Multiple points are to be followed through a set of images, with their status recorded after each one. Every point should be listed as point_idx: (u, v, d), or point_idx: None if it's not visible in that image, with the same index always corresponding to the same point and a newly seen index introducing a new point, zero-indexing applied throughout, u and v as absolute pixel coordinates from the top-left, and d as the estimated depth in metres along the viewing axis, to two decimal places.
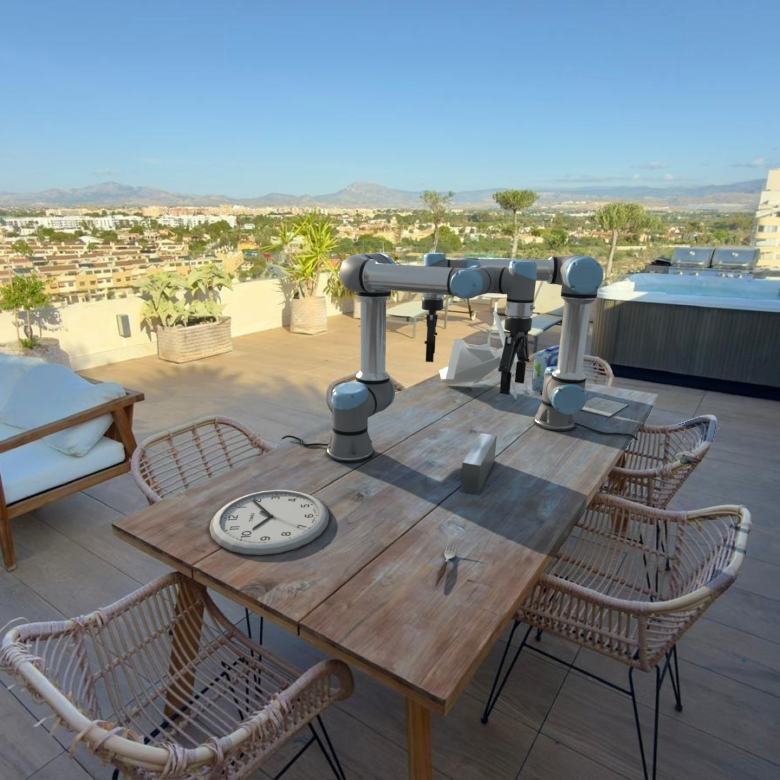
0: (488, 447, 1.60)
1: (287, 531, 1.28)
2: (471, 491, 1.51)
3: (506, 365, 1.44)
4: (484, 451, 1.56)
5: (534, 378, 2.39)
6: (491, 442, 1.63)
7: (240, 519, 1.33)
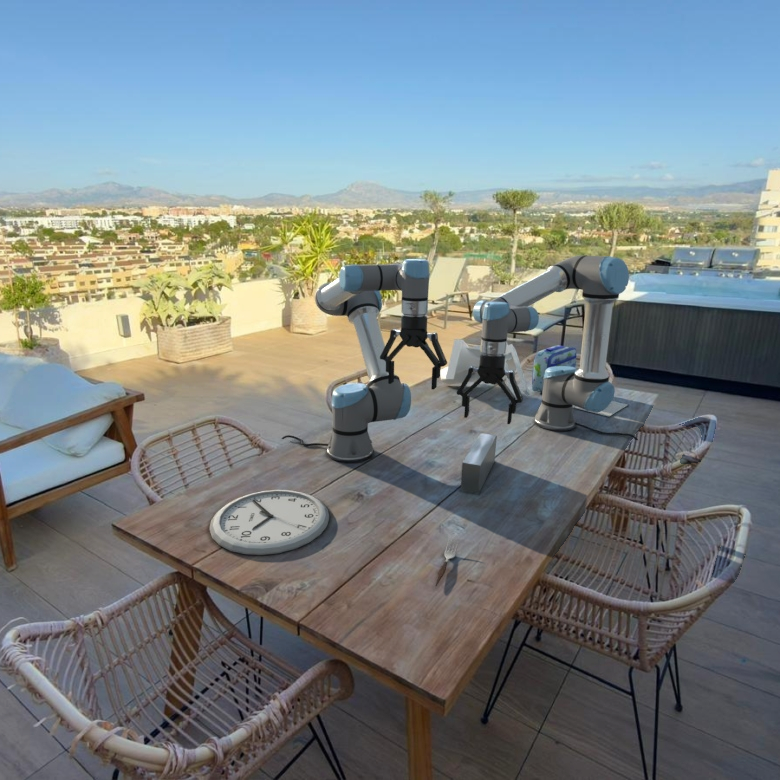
0: (488, 447, 1.60)
1: (287, 531, 1.28)
2: (471, 491, 1.51)
3: None
4: (484, 451, 1.56)
5: (534, 378, 2.39)
6: (491, 442, 1.63)
7: (240, 519, 1.33)
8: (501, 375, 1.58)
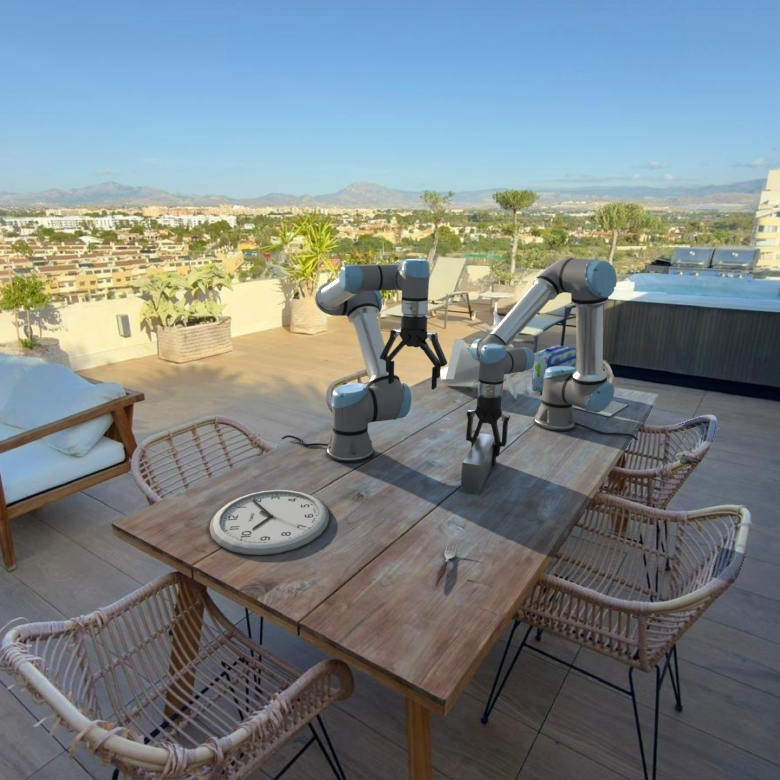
0: (488, 447, 1.60)
1: (287, 531, 1.28)
2: (471, 491, 1.51)
3: None
4: (484, 451, 1.56)
5: (534, 378, 2.39)
6: (491, 442, 1.63)
7: (240, 519, 1.33)
8: (498, 415, 1.62)
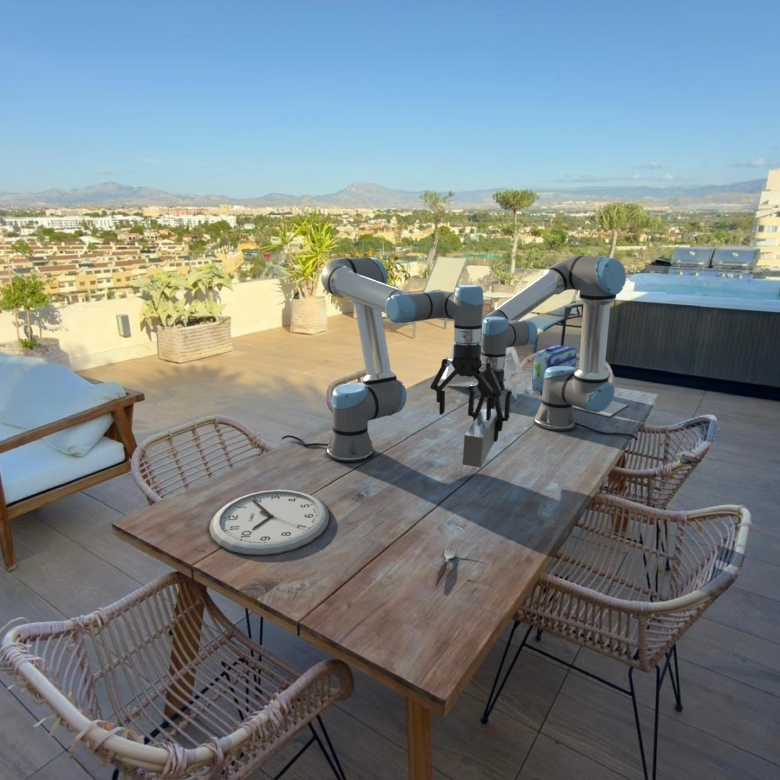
0: (490, 421, 1.57)
1: (287, 531, 1.28)
2: (473, 464, 1.48)
3: None
4: (487, 425, 1.54)
5: (534, 378, 2.39)
6: (493, 417, 1.61)
7: (240, 519, 1.33)
8: None
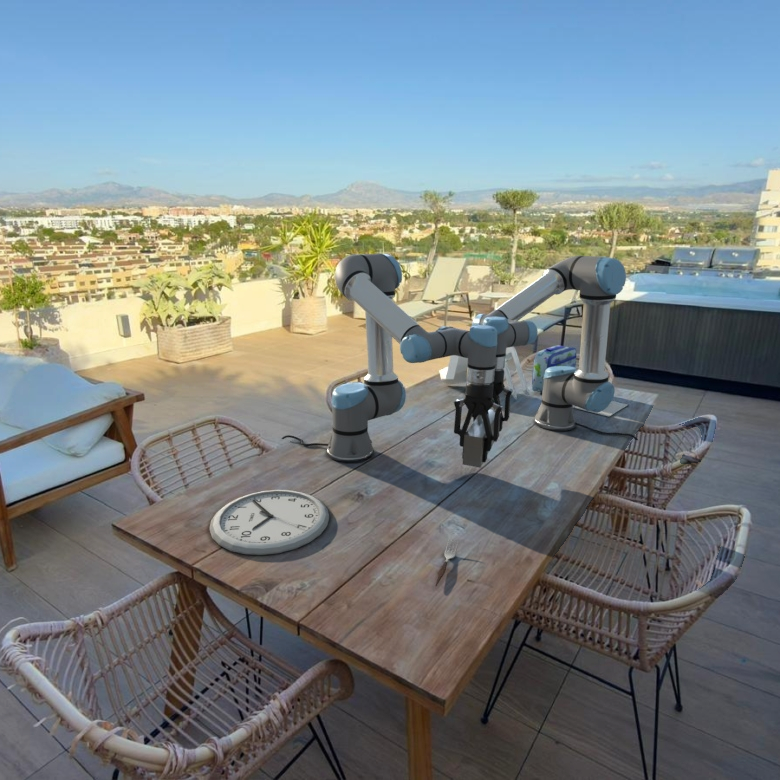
0: (490, 421, 1.57)
1: (287, 531, 1.28)
2: (473, 464, 1.48)
3: None
4: None
5: (534, 378, 2.39)
6: (493, 417, 1.61)
7: (240, 519, 1.33)
8: (500, 389, 1.59)
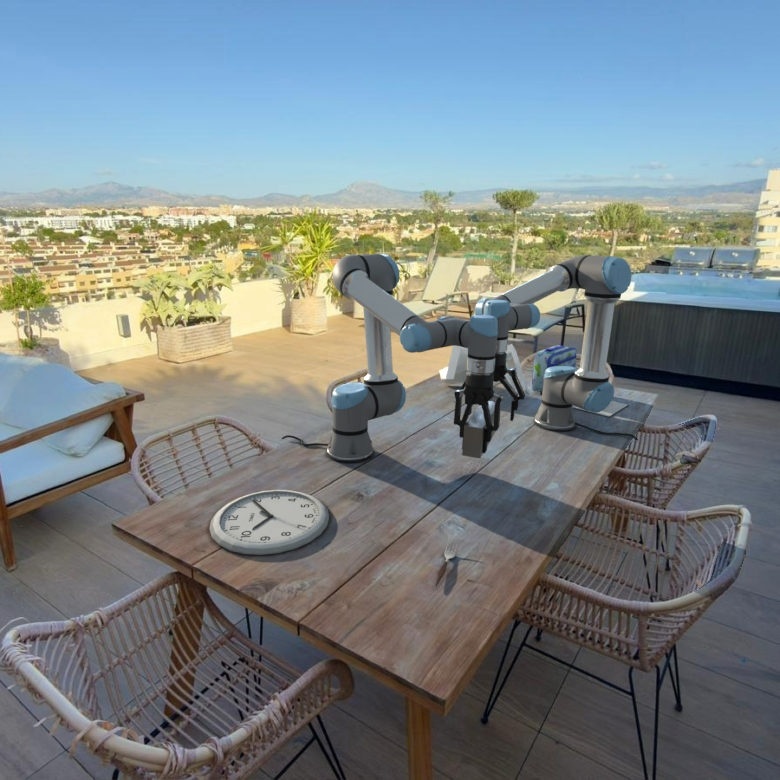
0: (490, 412, 1.56)
1: (287, 531, 1.28)
2: (473, 455, 1.47)
3: None
4: None
5: (534, 378, 2.39)
6: (494, 408, 1.60)
7: (240, 519, 1.33)
8: (503, 372, 1.59)
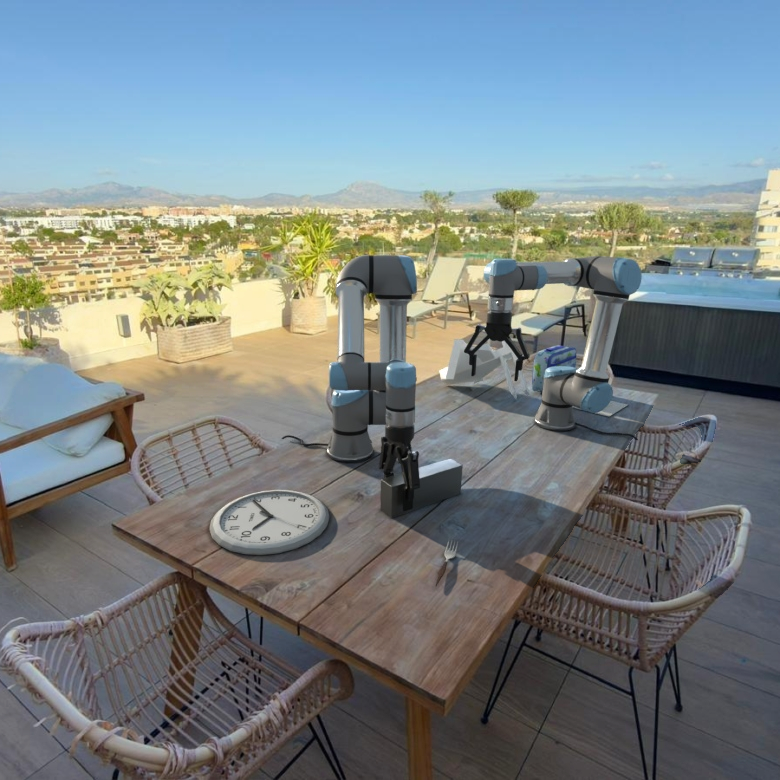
0: (432, 473, 1.42)
1: (287, 531, 1.28)
2: (387, 513, 1.38)
3: None
4: (420, 476, 1.40)
5: (534, 378, 2.39)
6: (444, 469, 1.44)
7: (240, 519, 1.33)
8: (508, 332, 1.60)
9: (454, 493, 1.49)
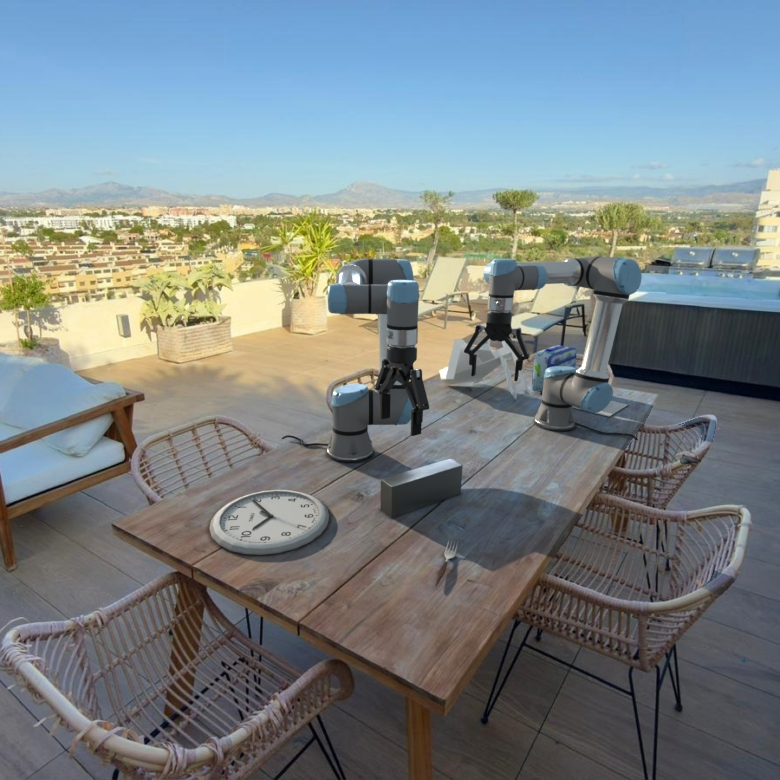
0: (432, 473, 1.42)
1: (287, 531, 1.28)
2: (387, 513, 1.38)
3: None
4: (420, 476, 1.40)
5: (534, 378, 2.39)
6: (444, 469, 1.44)
7: (240, 519, 1.33)
8: (508, 332, 1.60)
9: (454, 493, 1.49)
